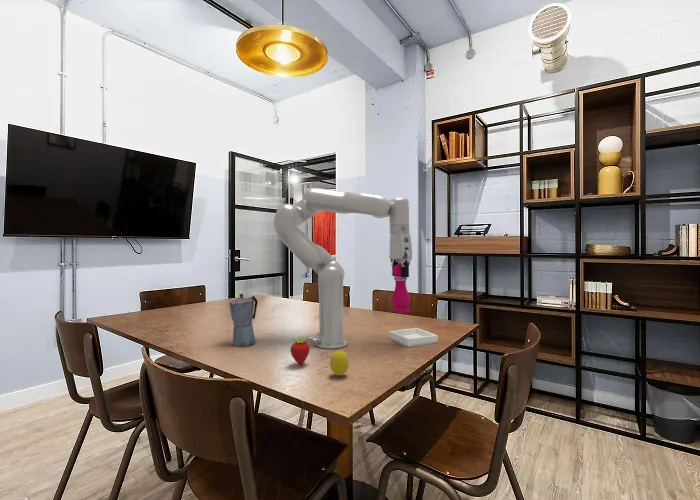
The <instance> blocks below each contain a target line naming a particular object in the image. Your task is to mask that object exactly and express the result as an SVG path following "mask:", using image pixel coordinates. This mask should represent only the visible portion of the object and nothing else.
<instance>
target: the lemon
mask: <svg viewBox="0 0 700 500" xmlns="http://www.w3.org/2000/svg"><path fill="white" fill-rule="evenodd" d="M331 354H332V355H331V357H330V361H329V365H330V370H331V371H332V373H333V374H335V375H337V376H338V377H341V376H342V375H344V374H345V373H346V372H347V370H349V363H350V362H349V357H348V354H347V353H346V352H345V351H344V350H341V349H338V350H336V351H334V352H333V353H331Z"/></svg>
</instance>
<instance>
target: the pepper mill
mask: <svg viewBox="0 0 700 500" xmlns="http://www.w3.org/2000/svg"><path fill="white" fill-rule="evenodd" d="M401 267H402V265H401V260H398V264H396V265H395V266H394V267H393V274H394V275H395V276H393V277H394V278H393V280H394V281H395V287H394V290H393V293H392V296H391V302H392V304H393V306H392V311H393V312H394V313H403V314H404V313H408V312H410V306H409V304H410V303H411V295H410V294H409V291H408V290H407V284H406V283H407V280H408V277H404V278H402V277H401Z"/></svg>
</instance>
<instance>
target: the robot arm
mask: <svg viewBox="0 0 700 500" xmlns="http://www.w3.org/2000/svg"><path fill="white" fill-rule="evenodd" d="M409 204H410V203H409V199H408V198H406V197H394V198H390V199H387V198H386V197H385V196H381V195H377V194H369V193H363V192H351V191H341V190H335V189H334V190H333V189H326V188H320V187H309V188H307V189H306V190H305V191H304V193H303V196H302V199H300V200H299V201H298V202H296V203H294V204H291V203H285V204H284V203H283V204H281V205H280V206H279V207H278V208H277V210H276V212H275V214H274V219H273V225H274V230H275V232H276V235H277V237H278V238H279V239H280V241H281V242H282V243H283V244H284V245H285V246H286V247H287V248H288V250H290V252H291V253H292V254H294V256H295V257H296V258H297V259H298V260H299V261H300V262H301V264H303V266H305V267H306V268H309V269H312V270H313V271H314V272H315V273H316V274H317V275H318V276H317V277H318V279H317V285H318V305H319V307H318V310H319V311H318V313H319V314H318V317H319V319H318V320H319V321H318V323H319V324H318V325H319V326H318V327H319V330H318V332H317V333H316V334H315V335H310V336H309V335H308V336H307V337H306V339H307V340H306V341H308V342H312V343H315V346H316V347H318V348H321V349H329V350H331V349H332V350H333V349H341V348H344V347H346V346H348V340H347V339H346V338H344V327H345V326H344V278H345V270H344V268H343V266H342V265H341V264H340V263H339V262H338V261H337V260H336V259H335V258H334V257H333V256H332V255H331V254H330V253H329V252H328V251H327V250H326V249H325V248H324V247H322V246H321V245H319V244H316V243H314V242H313V241H312V240H311V239H310V238H309V237H308V236H307V235H306V233H305V232H304V231H302V229H300V227H299V226H301V225H302V224H304V223H305V222H306V221H308V220H310V219H311V218H312V217H314V216H315V215H317V214H318V213H319V212H321V211H322V212H329V213H337V214H343V215H345V214H362V215H369V216H372V217H374V218H376V219H384V218H388V219H389V256H388V257H389V260H390V263H391V270H392V271H391V274H392V277H394V276H395V275H394V274H393V267H394V266H395V265H396V264H398V260H401V265H402V267H401V277H402V278H404V277H407V278H409V277H410V264H411V261H412V259H413V247H412V246H413V245H412V238H411V233H410V207H409V206H410V205H409ZM308 342H307V343H308Z"/></svg>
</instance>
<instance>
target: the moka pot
mask: <svg viewBox="0 0 700 500" xmlns="http://www.w3.org/2000/svg"><path fill="white" fill-rule="evenodd" d="M238 296H239V298H235V299H232V300H231V301H229V302H228V307H229V310H230V315H231V316H230V317H231V321H232V322H233V323H232V324H233V333H232V346H233V345H234V346H233V347H236V346H242V347H241V348H243V346H245V347H249V346H252V345H255V343H256V337H255V332H254V331H255V330H254V326H253V320H255V319H256V313H257V308H258V299H257V298H256V297H255V295H252V296H251V297H247V298H246V297H244V294H243V293H239V295H238Z"/></svg>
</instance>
